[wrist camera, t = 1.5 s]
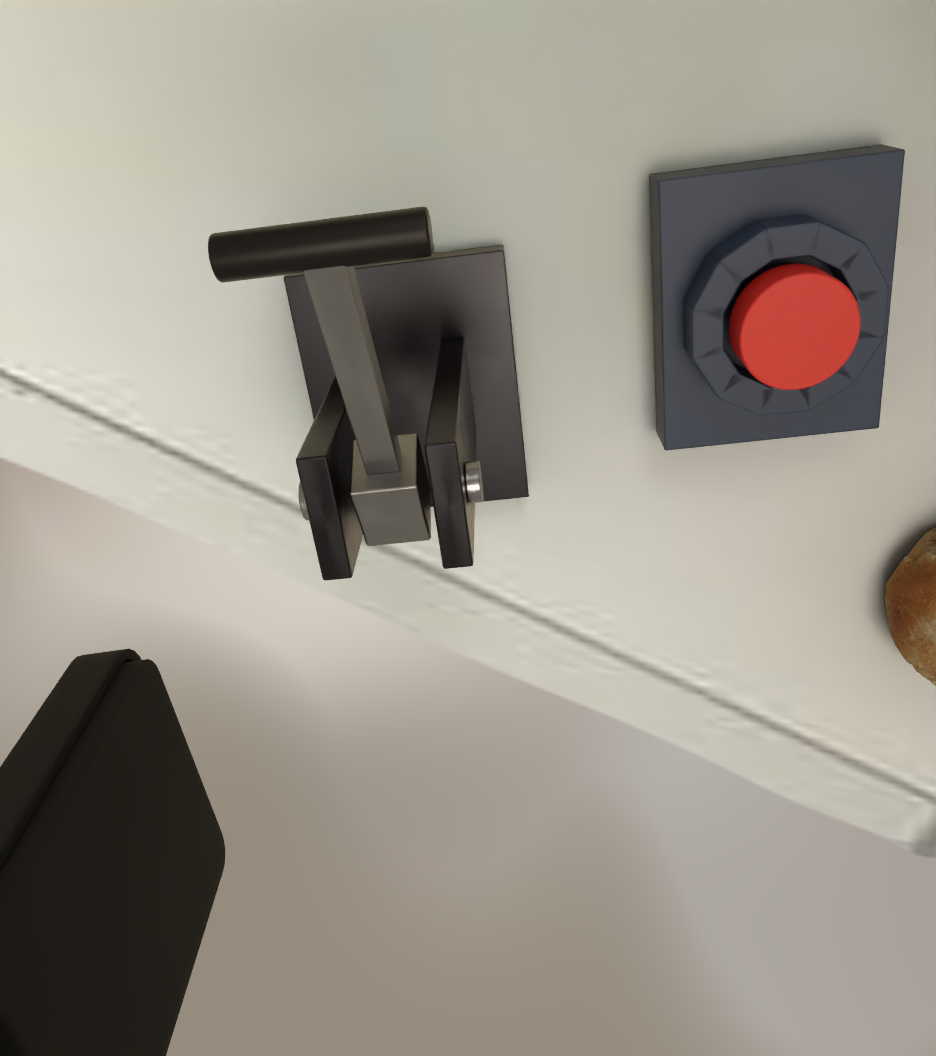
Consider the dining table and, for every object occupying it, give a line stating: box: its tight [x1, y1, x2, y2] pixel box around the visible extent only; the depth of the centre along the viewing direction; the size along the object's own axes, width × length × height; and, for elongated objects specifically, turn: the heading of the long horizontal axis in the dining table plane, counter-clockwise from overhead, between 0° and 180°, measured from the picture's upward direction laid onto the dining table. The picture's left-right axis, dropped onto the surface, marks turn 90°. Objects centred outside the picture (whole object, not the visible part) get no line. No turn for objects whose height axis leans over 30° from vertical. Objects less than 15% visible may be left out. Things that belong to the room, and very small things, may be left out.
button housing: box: [649, 145, 905, 450], centre depth 36 cm, size 11×9×4 cm
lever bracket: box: [284, 245, 529, 580], centre depth 34 cm, size 11×9×13 cm
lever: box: [208, 207, 434, 546], centre depth 27 cm, size 12×6×2 cm, turn 7°
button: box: [729, 263, 861, 390], centre depth 34 cm, size 4×4×2 cm
